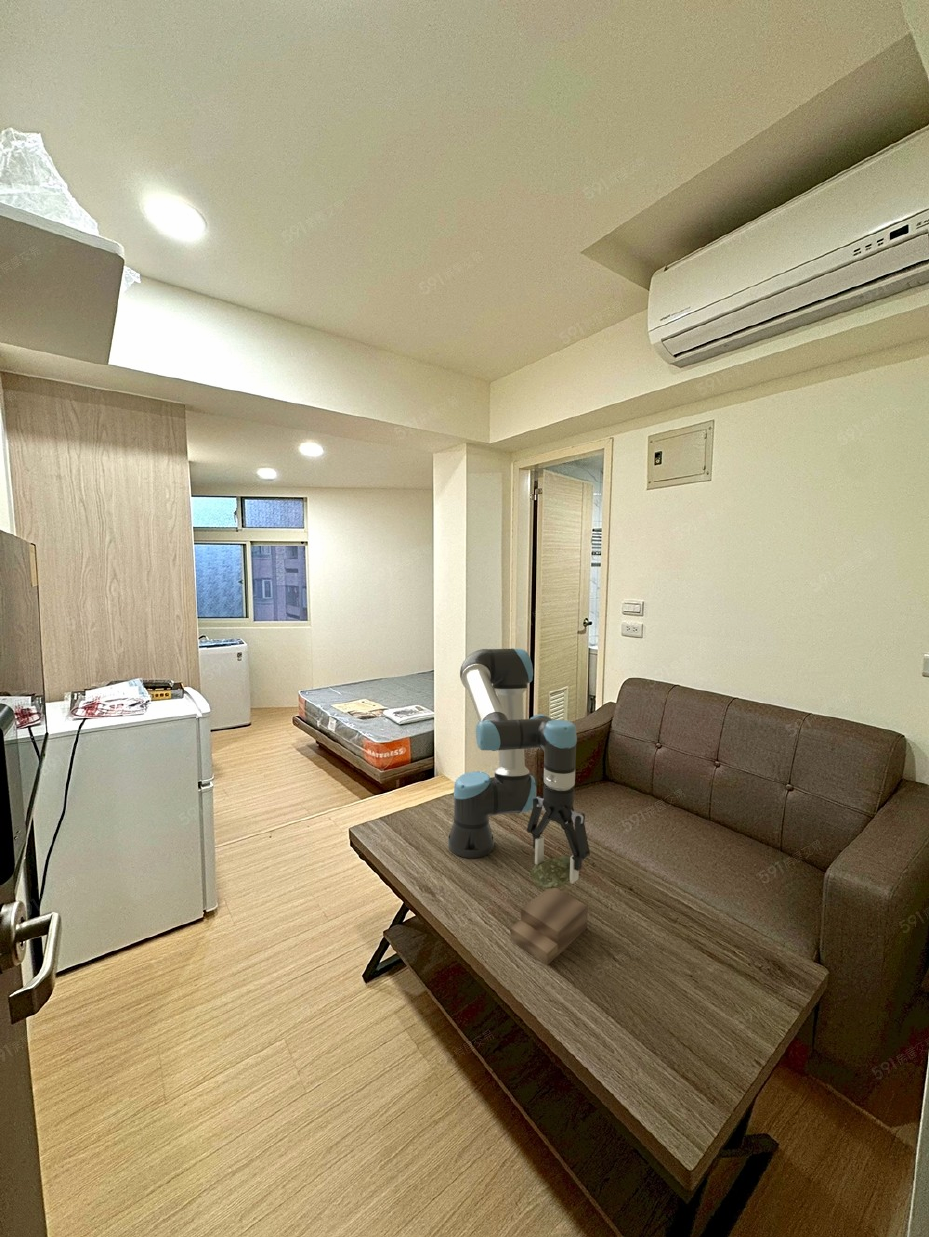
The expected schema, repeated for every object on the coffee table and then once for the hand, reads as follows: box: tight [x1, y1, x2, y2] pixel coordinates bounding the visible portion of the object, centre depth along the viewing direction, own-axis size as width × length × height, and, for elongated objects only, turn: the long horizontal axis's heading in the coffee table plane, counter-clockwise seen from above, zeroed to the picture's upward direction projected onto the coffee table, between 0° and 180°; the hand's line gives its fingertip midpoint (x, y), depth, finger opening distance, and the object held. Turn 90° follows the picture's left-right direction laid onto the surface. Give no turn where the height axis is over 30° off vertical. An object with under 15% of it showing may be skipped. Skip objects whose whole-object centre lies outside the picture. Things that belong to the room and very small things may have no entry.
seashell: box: [528, 856, 570, 890], centre depth 119 cm, size 10×7×10 cm
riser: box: [509, 888, 589, 966], centre depth 119 cm, size 11×17×6 cm, turn 134°
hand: (556, 870), depth 119 cm, fingers closed on seashell, 10 cm apart
